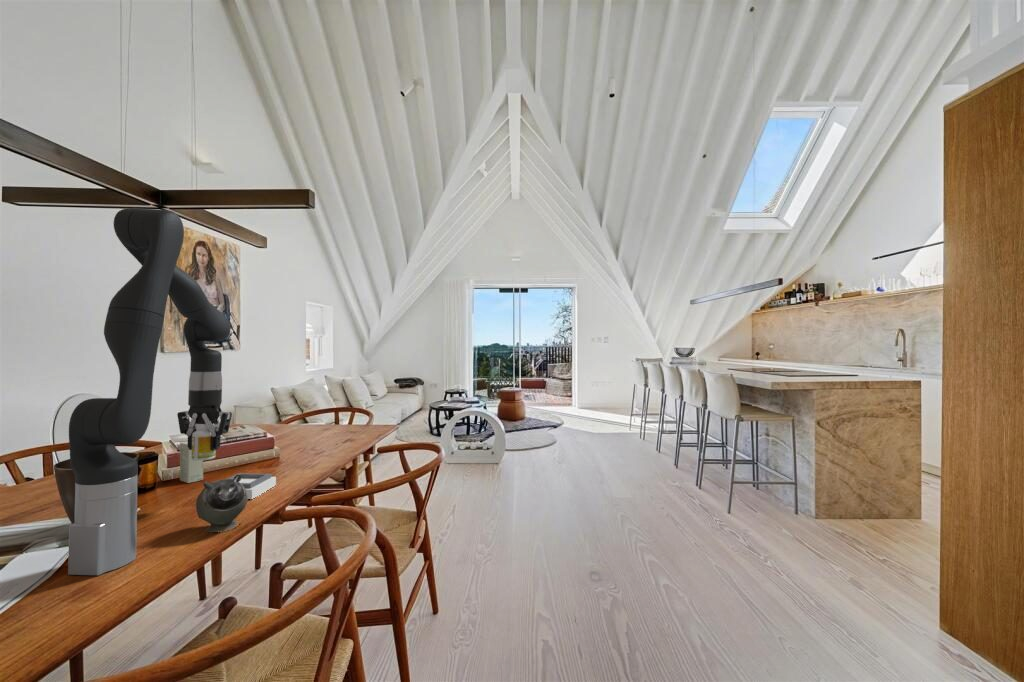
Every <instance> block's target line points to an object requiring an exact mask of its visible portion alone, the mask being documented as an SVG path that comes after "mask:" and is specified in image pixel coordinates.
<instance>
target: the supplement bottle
mask: <svg viewBox="0 0 1024 682" xmlns="http://www.w3.org/2000/svg"><path fill="white" fill-rule="evenodd" d="M195 428H196V429H197V431H195V432H194V433H193V434H192V460H194V461H202V460H203V461H208V460H212V459H215V458H216V456H217V455H216V451H217V450H211V437H213V436H212V435H211V432H210V430H209V429H208V428H207V426H206V424H196V427H195Z"/></svg>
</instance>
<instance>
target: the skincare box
mask: <svg viewBox="0 0 1024 682" xmlns="http://www.w3.org/2000/svg"><path fill="white" fill-rule="evenodd" d="M179 480H180V482H184V483H186V484H187V483H188V484H190V483H196V482H199V481H204V460H202V461H194V460H192V450H189V448H188V441H183V442H180V443H179Z"/></svg>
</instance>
